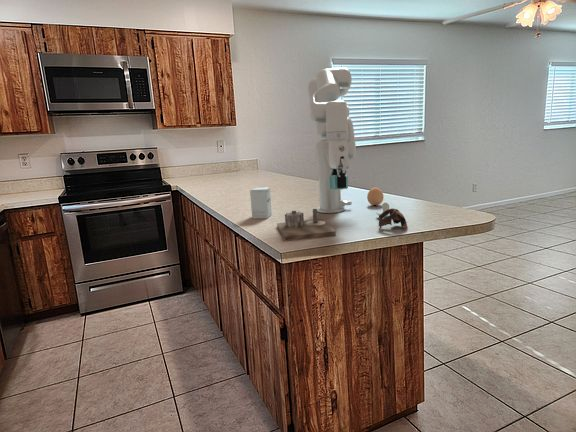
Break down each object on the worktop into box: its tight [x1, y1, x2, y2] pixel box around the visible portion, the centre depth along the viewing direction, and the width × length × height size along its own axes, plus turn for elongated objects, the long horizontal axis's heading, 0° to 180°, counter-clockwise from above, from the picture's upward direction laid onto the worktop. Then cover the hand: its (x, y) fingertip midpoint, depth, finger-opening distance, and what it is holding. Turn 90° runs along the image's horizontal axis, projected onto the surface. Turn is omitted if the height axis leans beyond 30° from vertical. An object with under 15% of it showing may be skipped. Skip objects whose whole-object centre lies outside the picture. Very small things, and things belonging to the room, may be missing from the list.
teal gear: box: [329, 174, 349, 190], centre depth 144 cm, size 7×7×4 cm
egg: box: [366, 186, 384, 206], centre depth 182 cm, size 7×7×8 cm
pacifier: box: [375, 202, 390, 219], centre depth 157 cm, size 7×6×6 cm
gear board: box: [276, 208, 337, 242], centre depth 145 cm, size 18×20×7 cm
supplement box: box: [249, 186, 273, 219], centre depth 172 cm, size 7×7×13 cm
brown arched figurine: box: [377, 207, 409, 231], centre depth 143 cm, size 12×10×8 cm
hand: (338, 186), depth 145 cm, fingers closed on teal gear, 6 cm apart
